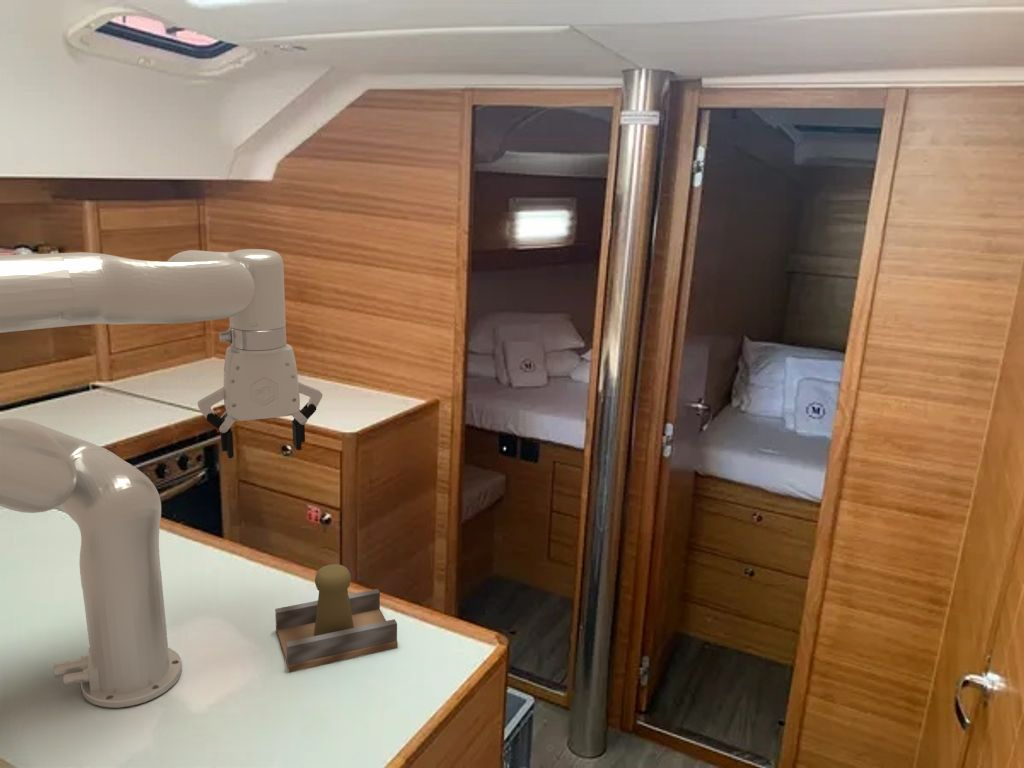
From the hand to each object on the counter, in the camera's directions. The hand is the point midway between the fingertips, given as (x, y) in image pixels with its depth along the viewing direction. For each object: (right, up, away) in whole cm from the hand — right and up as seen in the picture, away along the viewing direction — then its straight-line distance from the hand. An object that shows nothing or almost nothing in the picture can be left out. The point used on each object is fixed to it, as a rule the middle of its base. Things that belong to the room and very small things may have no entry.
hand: (264, 451), depth 118 cm
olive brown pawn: (+10, -28, +3) cm, 30 cm away
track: (+10, -29, +4) cm, 31 cm away
